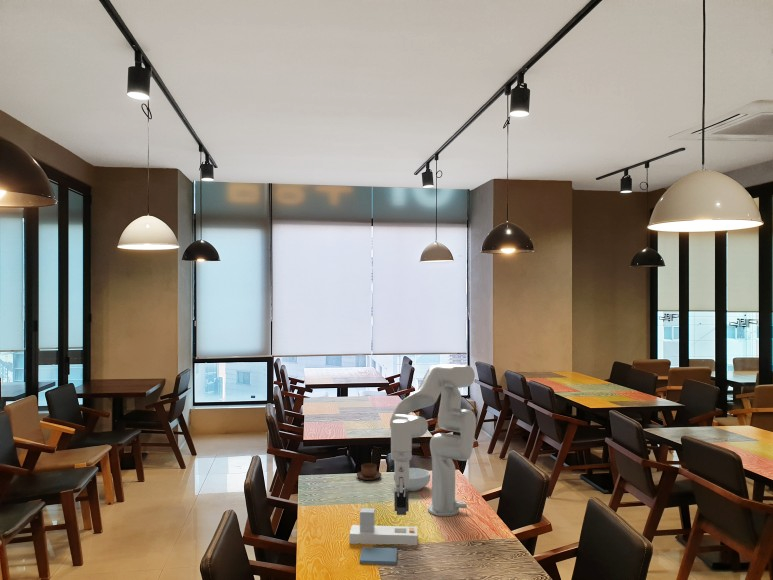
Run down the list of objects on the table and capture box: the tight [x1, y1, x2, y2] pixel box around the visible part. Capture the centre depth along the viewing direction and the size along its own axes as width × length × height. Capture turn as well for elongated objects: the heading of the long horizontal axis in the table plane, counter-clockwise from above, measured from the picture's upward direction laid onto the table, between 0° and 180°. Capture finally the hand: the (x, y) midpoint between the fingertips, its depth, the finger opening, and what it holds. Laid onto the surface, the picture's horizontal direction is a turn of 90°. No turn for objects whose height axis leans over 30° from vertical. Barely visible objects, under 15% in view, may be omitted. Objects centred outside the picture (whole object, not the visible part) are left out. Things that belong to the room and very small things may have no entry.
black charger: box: [393, 487, 410, 516], centre depth 211 cm, size 5×4×8 cm
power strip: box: [349, 524, 418, 546], centre depth 210 cm, size 24×8×4 cm, turn 87°
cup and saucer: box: [356, 462, 382, 481], centre depth 282 cm, size 12×12×6 cm
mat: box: [359, 546, 398, 565], centre depth 196 cm, size 12×10×1 cm
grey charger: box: [359, 507, 376, 532], centre depth 211 cm, size 5×4×8 cm
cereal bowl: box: [393, 467, 431, 492], centre depth 268 cm, size 17×17×7 cm
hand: (401, 504), depth 211 cm, fingers closed on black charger, 4 cm apart
